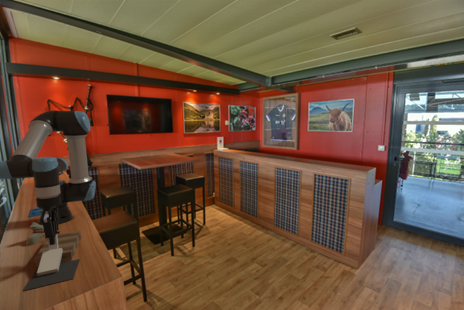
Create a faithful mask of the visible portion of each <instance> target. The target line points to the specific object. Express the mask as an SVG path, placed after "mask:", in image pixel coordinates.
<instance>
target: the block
mask: <svg viewBox="0 0 464 310" xmlns="http://www.w3.org/2000/svg"><path fill="white" fill-rule="evenodd" d="M62 252H63V250H62V248H58V249H53V250H48V251H43V254H42V257H41V261H40V264H39V267H37V268H38V271H37V274H38V276H40V275H45V274H49V273H54V272H58V271H59V266H60V263H61V262H60V261H61V257H62Z"/></svg>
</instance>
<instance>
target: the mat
mask: <svg viewBox="0 0 464 310" xmlns="http://www.w3.org/2000/svg"><path fill="white" fill-rule="evenodd" d="M80 260H81V259H80V258H78V259H74V260H73V259H72V260H70V261H65V262H60V266H59V271H58V272H54V273H49V274H45V275H40V276H38V274H37V271H38V268H39V267H37V268H35V271H34V273H33V274H32V275H31V277H30V279H29V280H28V282H27V284H26V285H25V287H24V289H23V290H22V291H23V292H27V291H29V290H34V289H39V288H42V287H47V286H50V285H54V284H55V285H56V284H60V283H64V282H67V281H71V280H74V278H75V274H76V273H77V269H78V266H79V264H80V262H81V261H80Z"/></svg>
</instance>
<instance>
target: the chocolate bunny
mask: <svg viewBox="0 0 464 310" xmlns="http://www.w3.org/2000/svg"><path fill="white" fill-rule="evenodd" d="M28 229H30V230H32V234H30V235H29V236H28V237H27V238H26V241H25V246H26V247H28V246H33V245H36V244H38V243H41V242H42V241H44V240H45V239H46V238H45V233H44V228H43V225H40V224H39V223H38V222H31V225H30V226H29V227H28Z"/></svg>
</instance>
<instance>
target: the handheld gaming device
mask: <svg viewBox="0 0 464 310" xmlns="http://www.w3.org/2000/svg"><path fill="white" fill-rule="evenodd" d="M41 213H42V208H38V207H36V208H32V209H30V212H29V215H28V218H32V217H33V218H34V217H40V216H41Z"/></svg>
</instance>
